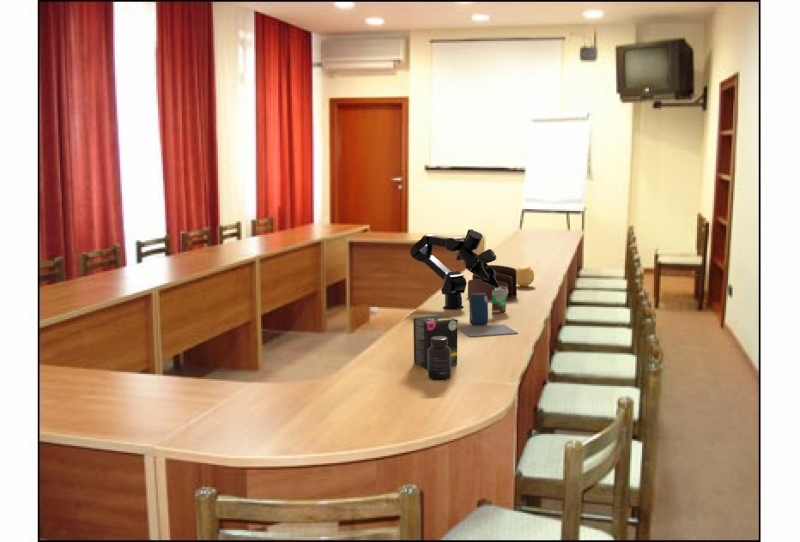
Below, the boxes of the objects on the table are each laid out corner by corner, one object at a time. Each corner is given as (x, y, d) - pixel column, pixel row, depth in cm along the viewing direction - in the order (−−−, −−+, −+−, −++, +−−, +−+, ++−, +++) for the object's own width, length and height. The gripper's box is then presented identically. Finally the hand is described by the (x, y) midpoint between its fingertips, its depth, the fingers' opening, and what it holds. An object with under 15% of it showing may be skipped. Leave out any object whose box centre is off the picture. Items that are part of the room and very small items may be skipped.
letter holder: (477, 293, 354) (477, 263, 352) (517, 297, 343) (517, 266, 341) (467, 297, 346) (467, 266, 343) (507, 301, 335) (507, 269, 333)
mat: (458, 328, 284) (458, 327, 284) (504, 325, 288) (504, 324, 288) (469, 337, 271) (469, 336, 271) (517, 333, 275) (517, 332, 275)
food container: (507, 315, 305) (507, 290, 304) (491, 315, 307) (491, 290, 305) (509, 309, 317) (509, 285, 316) (494, 308, 319) (494, 285, 317)
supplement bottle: (426, 374, 226) (426, 335, 224) (449, 373, 227) (449, 334, 225) (429, 381, 219) (428, 340, 218) (452, 380, 220) (452, 340, 218)
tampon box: (427, 370, 230) (427, 323, 228) (412, 363, 239) (412, 317, 236) (458, 365, 235) (458, 318, 233) (443, 358, 244) (442, 313, 241)
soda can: (491, 324, 289) (491, 292, 288) (480, 326, 284) (480, 294, 283) (477, 322, 293) (476, 291, 292) (466, 325, 288) (465, 293, 287)
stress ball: (511, 288, 370) (516, 277, 361) (511, 271, 375) (516, 260, 367) (531, 291, 370) (536, 281, 362) (531, 274, 376) (536, 263, 367)
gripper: (475, 236, 301) (498, 260, 292) (494, 252, 316) (517, 276, 307) (455, 256, 302) (478, 281, 293) (475, 271, 317) (497, 296, 308)
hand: (493, 283), depth 300 cm, fingers open, 9 cm apart
